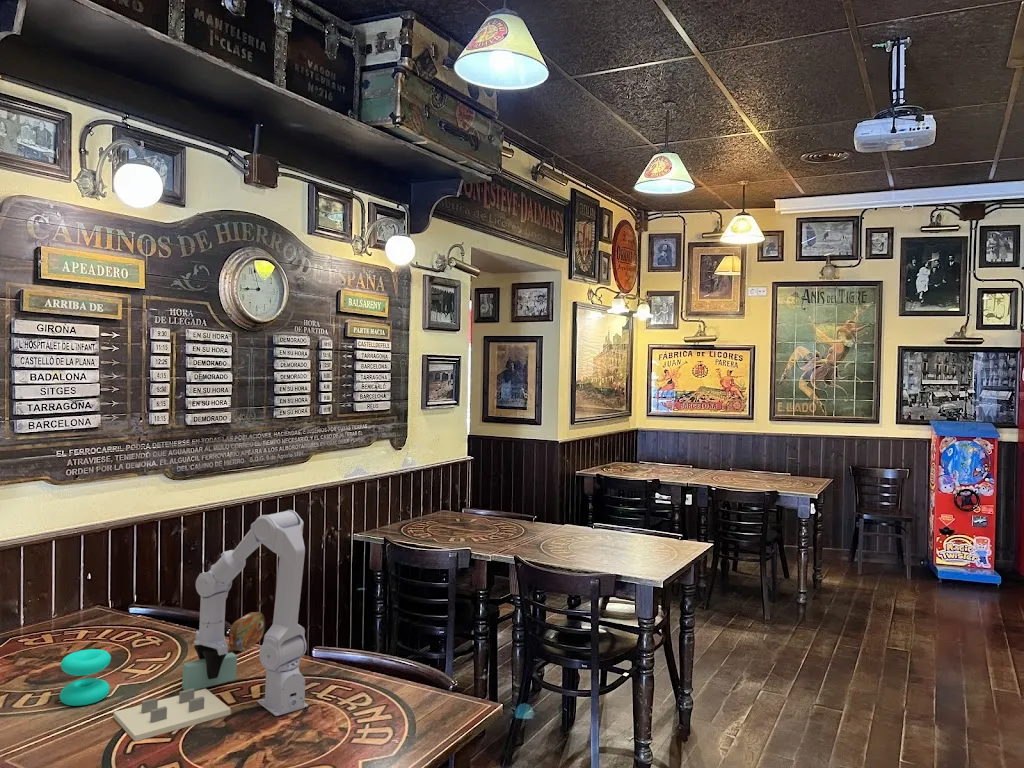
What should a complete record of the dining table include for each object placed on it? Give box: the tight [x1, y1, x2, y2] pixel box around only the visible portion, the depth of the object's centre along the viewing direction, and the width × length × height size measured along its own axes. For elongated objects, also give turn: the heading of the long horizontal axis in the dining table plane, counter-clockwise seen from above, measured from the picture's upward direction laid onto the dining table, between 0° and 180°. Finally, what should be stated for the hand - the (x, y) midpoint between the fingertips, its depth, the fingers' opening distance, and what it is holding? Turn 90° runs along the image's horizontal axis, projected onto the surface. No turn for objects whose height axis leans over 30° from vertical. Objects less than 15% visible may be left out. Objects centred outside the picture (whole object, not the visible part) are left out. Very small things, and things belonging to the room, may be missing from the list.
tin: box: [228, 611, 266, 652], centre depth 208 cm, size 15×3×8 cm, turn 168°
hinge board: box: [112, 688, 232, 742], centre depth 164 cm, size 14×20×4 cm
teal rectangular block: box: [181, 651, 238, 691], centre depth 182 cm, size 3×12×6 cm, turn 134°
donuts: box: [59, 648, 112, 707], centre depth 171 cm, size 10×10×10 cm
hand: (209, 675), depth 182 cm, fingers closed on teal rectangular block, 3 cm apart
